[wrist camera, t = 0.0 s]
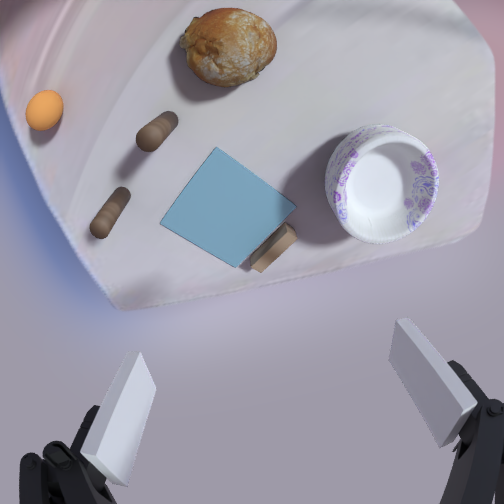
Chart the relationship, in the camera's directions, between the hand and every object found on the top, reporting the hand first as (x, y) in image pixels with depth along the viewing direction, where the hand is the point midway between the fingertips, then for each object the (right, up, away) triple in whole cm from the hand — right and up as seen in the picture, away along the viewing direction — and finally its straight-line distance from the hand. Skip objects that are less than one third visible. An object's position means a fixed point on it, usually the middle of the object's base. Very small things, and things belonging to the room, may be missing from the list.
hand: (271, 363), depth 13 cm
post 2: (-11, +21, +18) cm, 30 cm away
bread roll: (-4, +29, +13) cm, 32 cm away
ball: (-27, +23, +12) cm, 38 cm away
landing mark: (-5, +11, +26) cm, 29 cm away
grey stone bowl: (+15, +17, +24) cm, 33 cm away
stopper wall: (+2, +7, +30) cm, 31 cm away
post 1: (-19, +13, +23) cm, 33 cm away
